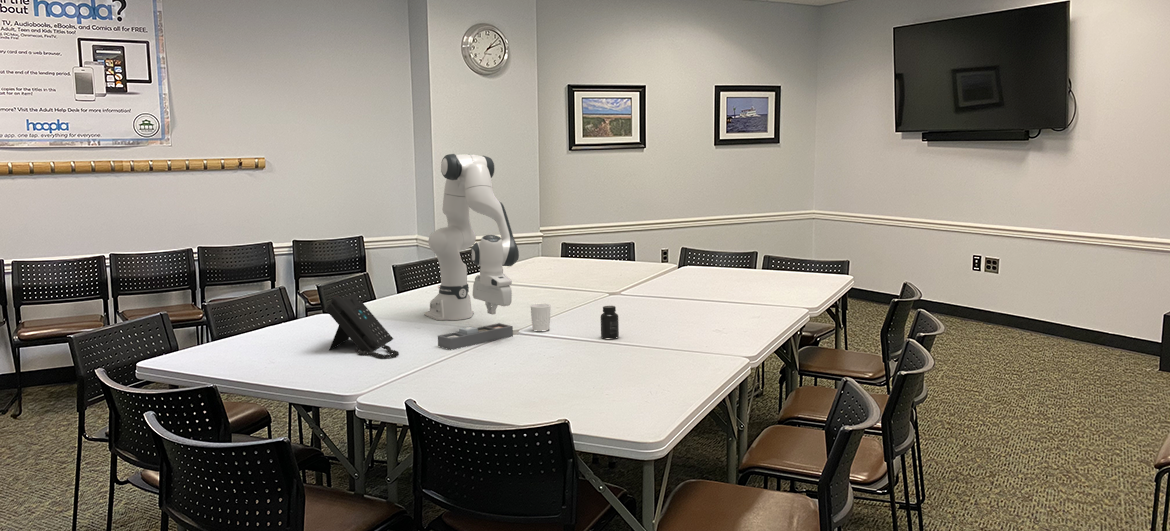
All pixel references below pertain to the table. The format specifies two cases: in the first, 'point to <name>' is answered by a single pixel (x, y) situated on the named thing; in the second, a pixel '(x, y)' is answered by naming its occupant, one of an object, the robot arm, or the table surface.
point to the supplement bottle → (609, 322)
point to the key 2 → (468, 330)
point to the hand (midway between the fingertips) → (491, 313)
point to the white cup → (540, 316)
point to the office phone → (358, 326)
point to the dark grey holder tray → (475, 336)
